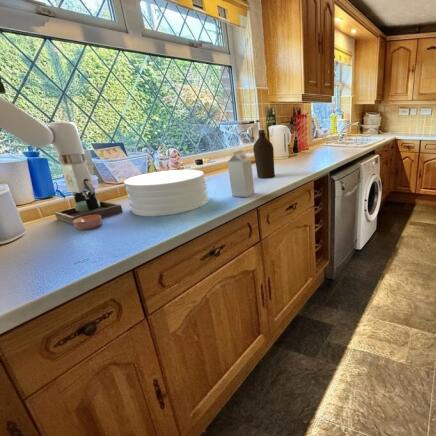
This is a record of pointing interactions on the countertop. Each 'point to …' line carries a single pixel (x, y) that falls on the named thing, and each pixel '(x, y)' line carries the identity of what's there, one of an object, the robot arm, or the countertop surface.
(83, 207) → the green disc
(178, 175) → the plate stack
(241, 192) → the milk carton
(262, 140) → the olive oil
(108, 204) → the tray
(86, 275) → the countertop surface
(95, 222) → the terracotta round puck
